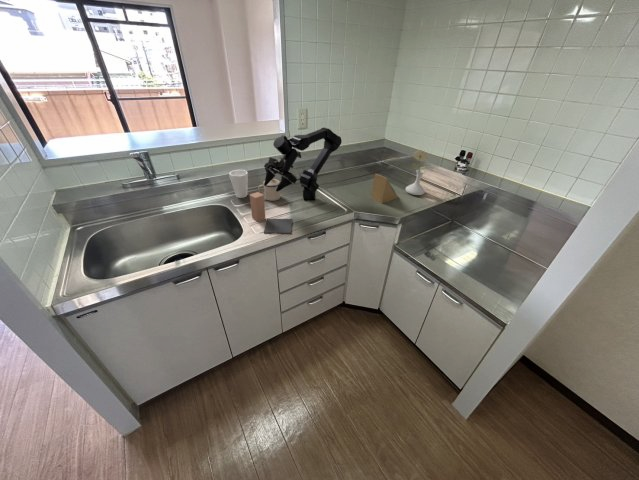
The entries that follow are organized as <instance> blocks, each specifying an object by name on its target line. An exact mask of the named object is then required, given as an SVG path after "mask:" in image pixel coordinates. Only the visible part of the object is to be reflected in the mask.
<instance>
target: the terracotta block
mask: <svg viewBox="0 0 639 480" xmlns="http://www.w3.org/2000/svg"><path fill="white" fill-rule="evenodd" d="M249 202H250V210H251V218H252V219H253V220H254V221H256V222H260V221H263V220H266V209H265V194H262V193H260V192H259V191H256V192H253V193H250V194H249Z"/></svg>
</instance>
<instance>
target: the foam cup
mask: <svg viewBox="0 0 639 480" xmlns="http://www.w3.org/2000/svg"><path fill="white" fill-rule="evenodd" d="M228 176H229V179H230V181H231V185H232V188H233V191H234V194H235V197H236V198H238V199H241V198H243V199H244V198H245V197H247V196H248V186H249V185H248V184H249V183H248V182H249V181H248V180H249V179H248V178H249V173H248V171H247V170H244V169H233V170H231V171H229V173H228Z"/></svg>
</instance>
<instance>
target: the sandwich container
mask: <svg viewBox="0 0 639 480" xmlns="http://www.w3.org/2000/svg"><path fill="white" fill-rule="evenodd" d="M398 198H399V196H398V193H397V192H396V190H395V189H394V187H393V186H392V185H391V183H390V181H389V179H388V178H387V177H385V176H383V175H381V174H378V173H375V174H374V179H373V183H372V189H371V196H370V199H372V200H374V201H376V202H378V203H380V204H384V203H387V202H390V201H393V200H395V199H398Z"/></svg>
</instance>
